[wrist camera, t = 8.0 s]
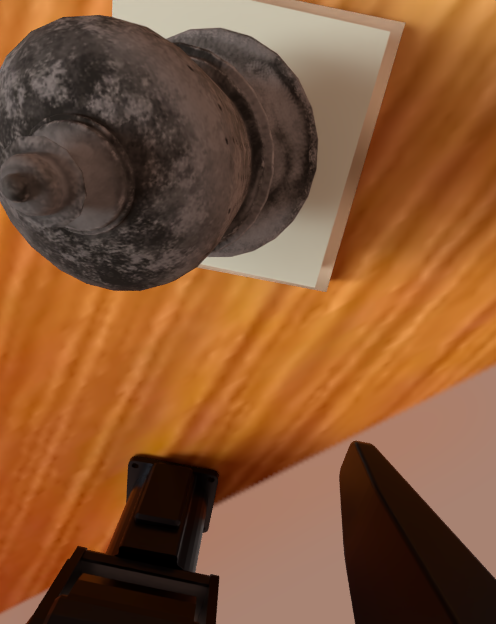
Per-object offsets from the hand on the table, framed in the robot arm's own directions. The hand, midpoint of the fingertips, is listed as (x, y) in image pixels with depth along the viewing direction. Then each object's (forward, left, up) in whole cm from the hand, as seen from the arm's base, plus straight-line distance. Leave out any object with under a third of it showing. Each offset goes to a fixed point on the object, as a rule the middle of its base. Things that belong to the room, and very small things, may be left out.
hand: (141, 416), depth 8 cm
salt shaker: (+5, 0, -9) cm, 10 cm away
